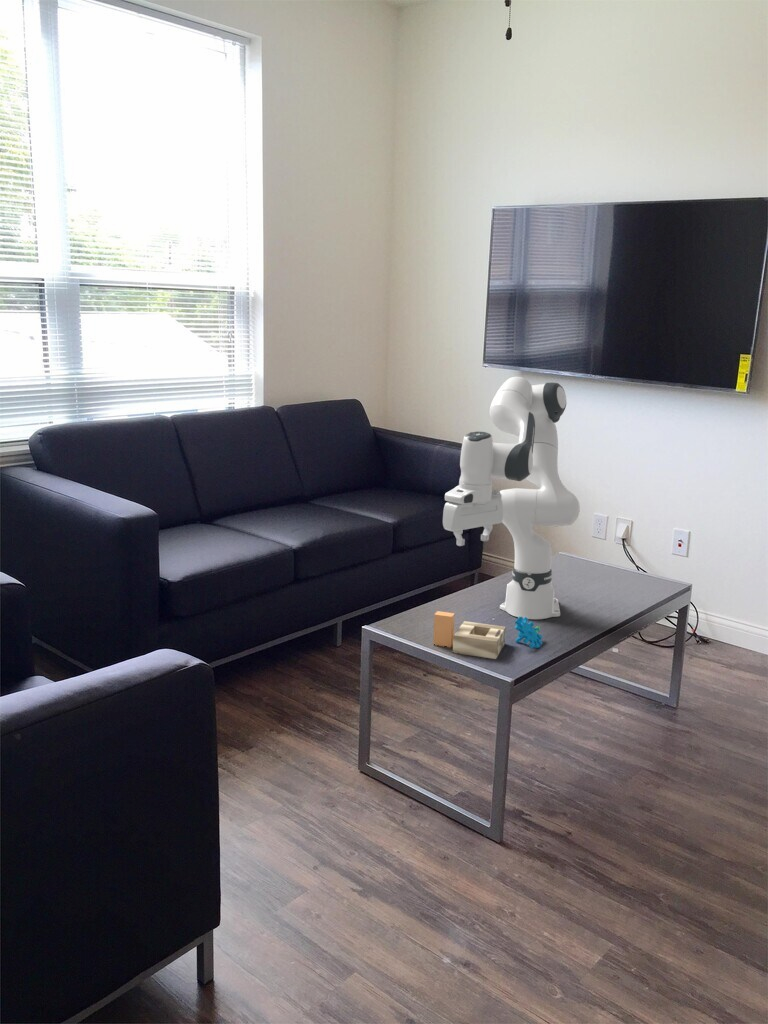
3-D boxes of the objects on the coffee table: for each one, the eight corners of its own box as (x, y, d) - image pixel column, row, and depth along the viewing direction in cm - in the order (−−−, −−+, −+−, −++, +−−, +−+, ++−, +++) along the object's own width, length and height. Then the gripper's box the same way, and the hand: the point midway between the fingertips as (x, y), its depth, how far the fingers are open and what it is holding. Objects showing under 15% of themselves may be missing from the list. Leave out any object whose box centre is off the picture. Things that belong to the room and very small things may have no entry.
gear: (531, 648, 236) (512, 617, 240) (516, 659, 239) (498, 628, 243) (551, 643, 244) (533, 612, 248) (536, 653, 248) (518, 623, 251)
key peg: (436, 641, 244) (437, 611, 242) (453, 643, 243) (454, 613, 241) (433, 644, 242) (434, 614, 240) (450, 647, 240) (451, 616, 238)
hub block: (463, 637, 247) (464, 620, 246) (504, 643, 244) (505, 626, 242) (452, 652, 236) (453, 634, 235) (495, 659, 232) (496, 640, 231)
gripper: (492, 487, 241) (490, 535, 244) (440, 494, 228) (437, 545, 231) (509, 491, 237) (507, 540, 239) (456, 498, 224) (454, 550, 226)
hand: (472, 543), depth 235 cm, fingers open, 8 cm apart
